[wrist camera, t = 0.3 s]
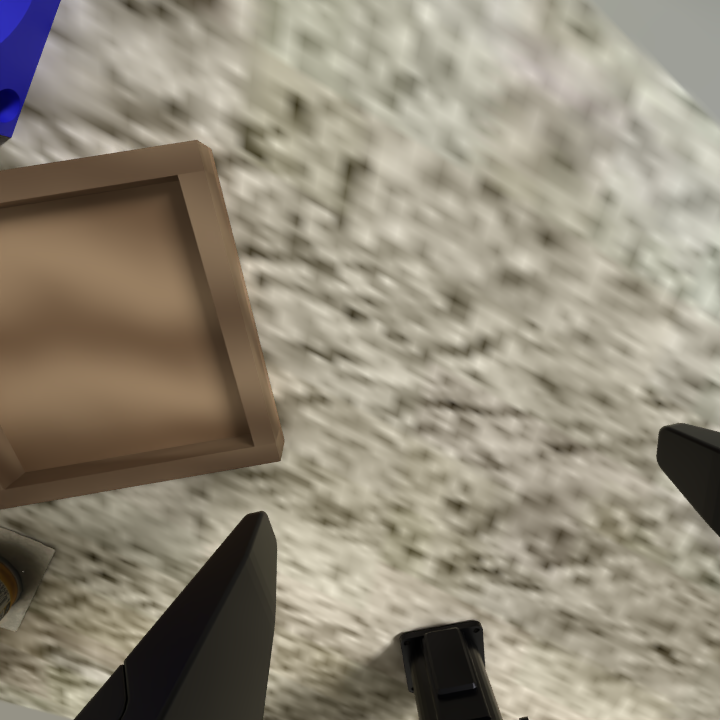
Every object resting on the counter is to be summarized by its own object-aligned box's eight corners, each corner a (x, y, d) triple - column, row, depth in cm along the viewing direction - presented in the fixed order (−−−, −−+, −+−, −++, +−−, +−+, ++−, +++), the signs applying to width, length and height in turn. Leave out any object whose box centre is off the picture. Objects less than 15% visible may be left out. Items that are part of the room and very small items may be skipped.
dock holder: (284, 440, 24) (280, 461, 22) (21, 485, 24) (-8, 510, 22) (211, 149, 19) (196, 139, 17) (-132, 202, 19) (-190, 200, 17)
